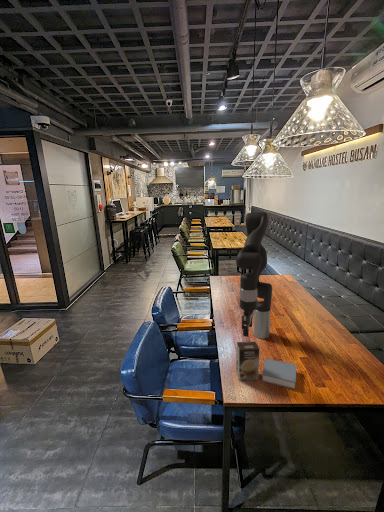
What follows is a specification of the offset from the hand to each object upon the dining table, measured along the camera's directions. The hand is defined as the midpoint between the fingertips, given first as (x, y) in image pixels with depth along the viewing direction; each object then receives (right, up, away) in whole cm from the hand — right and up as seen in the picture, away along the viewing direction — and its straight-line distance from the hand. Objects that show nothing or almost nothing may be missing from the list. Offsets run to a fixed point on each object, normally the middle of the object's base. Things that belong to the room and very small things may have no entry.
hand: (247, 331), depth 111 cm
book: (+16, -23, +4) cm, 28 cm away
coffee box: (+1, -23, +5) cm, 23 cm away
